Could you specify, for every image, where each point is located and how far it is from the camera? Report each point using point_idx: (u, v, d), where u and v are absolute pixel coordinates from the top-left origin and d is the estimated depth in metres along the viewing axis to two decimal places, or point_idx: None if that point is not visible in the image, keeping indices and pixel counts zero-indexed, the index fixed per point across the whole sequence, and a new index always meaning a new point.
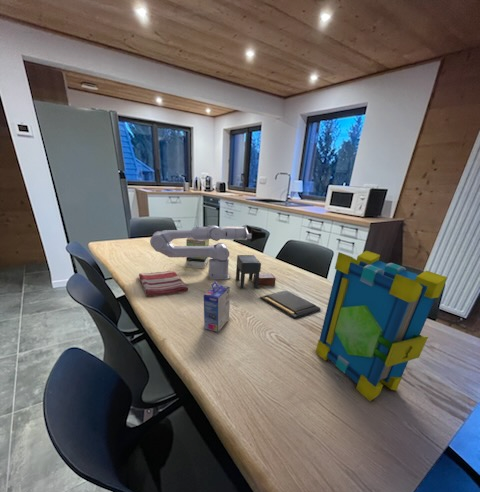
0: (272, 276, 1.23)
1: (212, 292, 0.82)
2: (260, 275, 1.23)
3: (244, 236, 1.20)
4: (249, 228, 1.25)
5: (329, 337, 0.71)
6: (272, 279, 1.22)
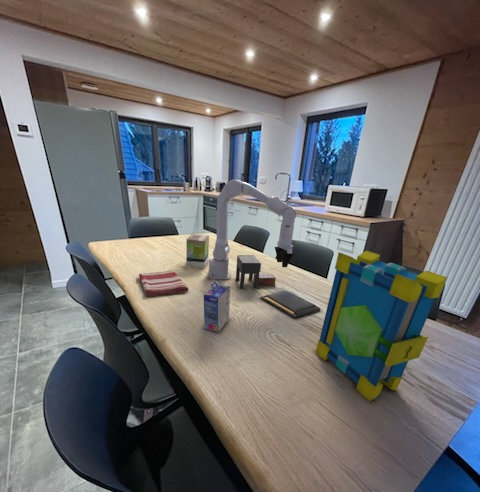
0: (272, 276, 1.23)
1: (212, 292, 0.82)
2: (260, 275, 1.23)
3: (284, 245, 1.16)
4: (284, 250, 1.24)
5: (329, 337, 0.71)
6: (272, 279, 1.22)
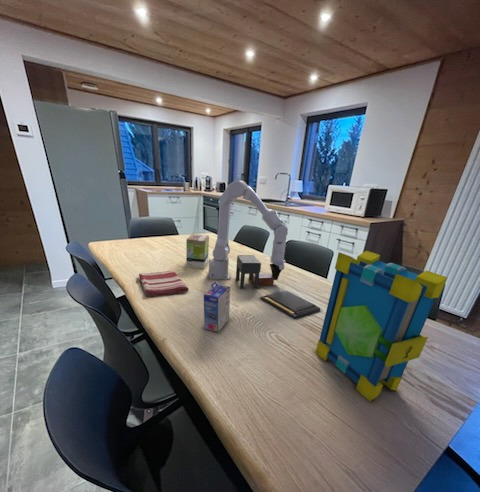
0: (271, 276, 1.23)
1: (212, 292, 0.82)
2: (259, 275, 1.23)
3: (277, 261, 1.19)
4: (279, 267, 1.23)
5: (329, 337, 0.71)
6: (270, 279, 1.22)
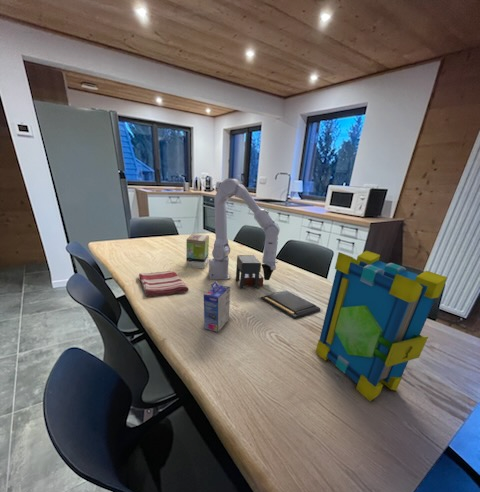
0: (260, 276, 1.22)
1: (212, 292, 0.82)
2: (248, 275, 1.22)
3: (268, 262, 1.18)
4: (271, 267, 1.22)
5: (329, 337, 0.71)
6: (260, 279, 1.21)
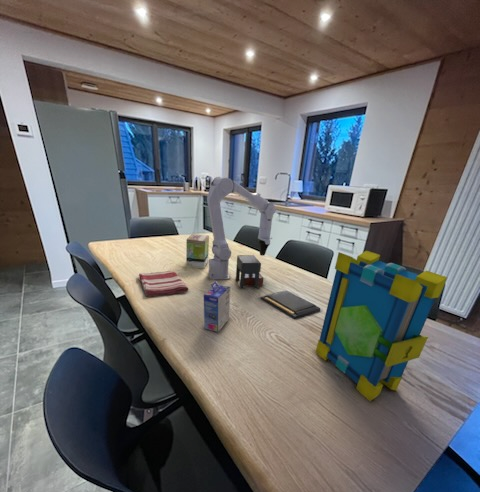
0: (260, 276, 1.22)
1: (212, 292, 0.82)
2: (248, 275, 1.22)
3: (263, 237, 1.28)
4: (266, 243, 1.33)
5: (329, 337, 0.71)
6: (260, 279, 1.21)
